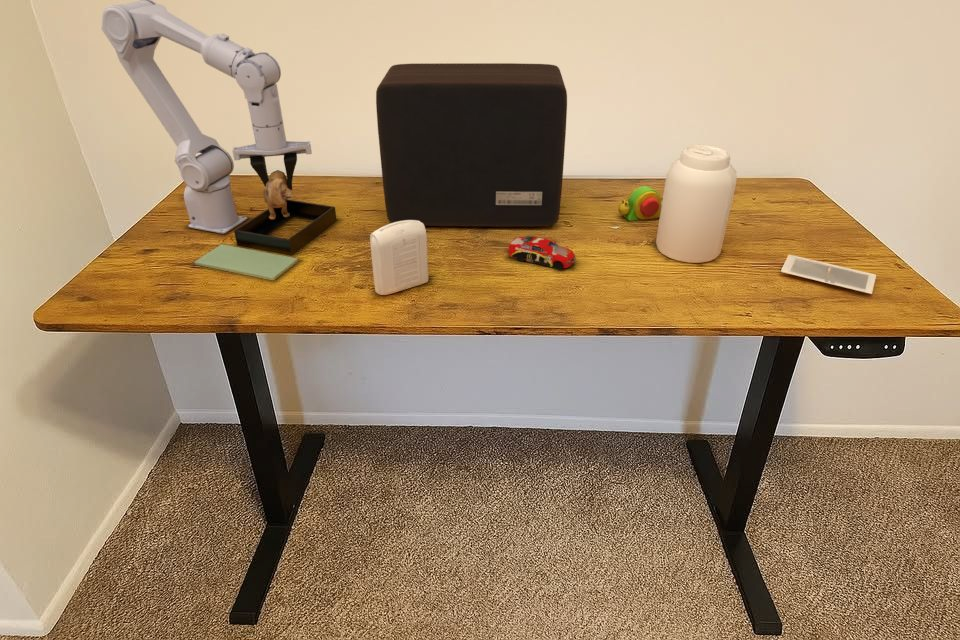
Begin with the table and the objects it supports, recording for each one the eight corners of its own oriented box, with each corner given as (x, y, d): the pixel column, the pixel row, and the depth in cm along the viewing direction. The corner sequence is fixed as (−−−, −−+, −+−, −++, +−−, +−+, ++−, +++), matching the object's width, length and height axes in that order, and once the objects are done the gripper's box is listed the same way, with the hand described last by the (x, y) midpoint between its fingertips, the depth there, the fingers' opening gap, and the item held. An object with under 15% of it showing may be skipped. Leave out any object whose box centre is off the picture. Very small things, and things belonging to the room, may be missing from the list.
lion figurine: (298, 225, 125) (292, 182, 119) (270, 228, 123) (262, 185, 118) (290, 190, 136) (284, 150, 130) (264, 193, 134) (256, 152, 128)
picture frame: (237, 245, 131) (233, 230, 129) (286, 212, 144) (283, 198, 142) (291, 255, 127) (289, 240, 125) (337, 220, 140) (335, 206, 139)
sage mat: (194, 264, 124) (193, 261, 124) (222, 246, 131) (221, 243, 130) (273, 280, 119) (273, 277, 119) (298, 261, 125) (297, 258, 125)
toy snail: (610, 214, 142) (613, 186, 139) (687, 202, 147) (692, 175, 144) (624, 226, 137) (628, 197, 134) (703, 213, 142) (709, 185, 139)
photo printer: (421, 272, 121) (417, 211, 114) (432, 282, 118) (429, 220, 111) (371, 288, 116) (363, 225, 110) (381, 299, 113) (375, 235, 107)
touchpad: (787, 259, 125) (790, 249, 124) (874, 279, 118) (878, 269, 117) (779, 276, 119) (782, 266, 118) (869, 299, 113) (873, 288, 111)
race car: (579, 261, 125) (580, 242, 123) (569, 273, 121) (570, 254, 119) (516, 246, 130) (517, 228, 128) (504, 258, 126) (505, 239, 123)
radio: (553, 197, 150) (562, 61, 134) (559, 231, 136) (569, 82, 119) (398, 196, 151) (387, 61, 135) (386, 229, 137) (373, 82, 120)
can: (642, 241, 131) (657, 144, 120) (693, 231, 135) (712, 136, 124) (680, 269, 122) (700, 167, 111) (734, 257, 126) (758, 157, 114)
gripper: (306, 114, 127) (316, 180, 135) (229, 120, 125) (243, 186, 132) (307, 124, 122) (317, 192, 129) (226, 131, 119) (241, 200, 126)
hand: (280, 190), depth 130 cm, fingers closed on lion figurine, 3 cm apart
